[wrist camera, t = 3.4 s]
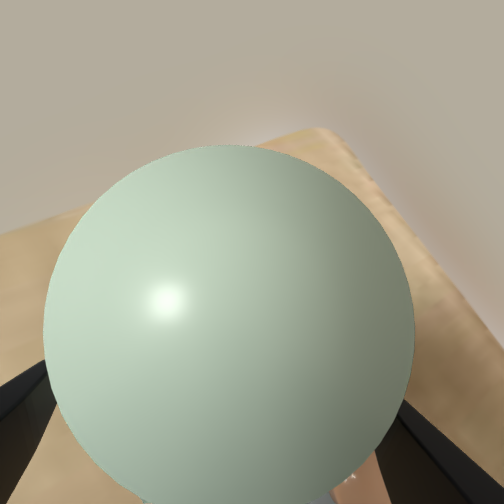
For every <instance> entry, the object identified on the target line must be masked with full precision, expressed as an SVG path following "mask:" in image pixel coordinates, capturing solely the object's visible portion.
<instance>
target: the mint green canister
mask: <svg viewBox="0 0 504 504" xmlns="http://www.w3.org/2000/svg"><path fill="white" fill-rule="evenodd" d="M43 339H44V352H45V362H46V367H47V371H48V375H49V380H50V384H51V388H52V391H53V394H54V396H55V399H56V401H57V404H58V406H59V409H60V411H61V414H62V416H63V418H64V419H65V421H66V423H67V425H68V426H69V428H70V430H71V431H72V433H73V435H74V436H75V438H76V440H77V441H78V443H79V444H80V445H81V446H82V447H83V449H84V450H85V451H86V452H87V454H88V455H89V456H90V457H91V458H92V460H93V461H94V462H95V463H96V464H97V465H98V466H99V467H100V468H101V469H102V470H103V471H105V472H106V473H107V474H108V475H109V476H110V477H111V478H113V479H114V480H115V481H116V482H117V483H118V484H119V485H121V486H123V487H124V488H126V489H128V490H129V491H131V492H132V493H134V494H136V495H137V496H139V497H140V499H141V500H142V501H143V503H144V504H145V503H152V504H307V503H309V502H311V501H313V500H315V499H318V498H319V497H321V496H322V495H324V494H325V493H327V492H329V491H330V490H332V489H333V488H335V487H336V486H338V485H339V484H341V483H342V482H343V481H344V480H346V479H347V478H348V477H349V476H350V475H351V474H352V473H353V472H355V471H356V470H357V469H358V468H359V467H360V466H361V465H362V464H363V463H364V462H365V461H366V460H367V458H368V457H369V456H370V455H371V454H372V452H373V451H374V450H375V449H376V448H377V446H378V445H379V444H380V442H381V441H382V439H383V438H384V436H385V434H386V433H387V431H388V429H389V428H390V426H391V425H392V423H393V421H394V419H395V417H396V415H397V412H398V410H399V408H400V405H401V403H402V401H403V399H404V396H405V392H406V389H407V385H408V382H409V378H410V375H411V369H412V362H413V356H414V344H415V322H414V312H413V303H412V298H411V294H410V289H409V284H408V281H407V278H406V275H405V272H404V269H403V266H402V263H401V261H400V259H399V257H398V254H397V252H396V250H395V248H394V246H393V244H392V242H391V240H390V239H389V237H388V236H387V234H386V232H385V231H384V229H383V227H382V226H381V224H380V223H379V222H378V221H377V219H376V218H375V217H374V215H373V214H372V213H371V212H370V210H369V209H368V208H367V207H366V206H365V205H364V204H363V203H362V202H361V201H360V200H359V199H358V198H357V197H356V196H355V195H354V194H353V193H352V192H351V191H350V190H348V189H347V188H346V187H345V186H344V185H342V184H341V183H340V182H339V181H337V180H336V179H334V178H333V177H331V176H330V175H328V174H327V173H325V172H324V171H322V170H320V169H318V168H316V167H314V166H313V165H311V164H309V163H307V162H305V161H302V160H300V159H297V158H295V157H292V156H290V155H287V154H283V153H280V152H276V151H273V150H269V149H263V148H257V147H252V146H239V145H218V146H207V147H200V148H193V149H189V150H185V151H181V152H177V153H173V154H170V155H168V156H165V157H162V158H160V159H157V160H155V161H152V162H150V163H148V164H146V165H145V166H143V167H141V168H139V169H137V170H136V171H133V172H132V173H130V174H129V175H128V176H126V177H125V178H123V179H122V180H120V181H119V182H117V183H116V184H115V185H114V186H112V187H111V188H110V189H109V190H108V191H107V192H105V193H104V194H103V195H102V196H101V197H100V198H99V199H98V200H97V201H96V202H95V203H94V204H93V205H92V206H91V208H90V209H89V210H88V211H87V212H86V213H85V214H84V215H83V217H82V218H81V220H80V221H79V223H78V224H77V226H76V227H75V228H74V230H73V231H72V233H71V234H70V236H69V238H68V240H67V242H66V244H65V246H64V248H63V250H62V251H61V253H60V255H59V257H58V260H57V263H56V266H55V269H54V271H53V274H52V277H51V280H50V284H49V289H48V294H47V298H46V303H45V311H44V327H43Z"/></svg>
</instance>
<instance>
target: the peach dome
mask: <svg viewBox="0 0 504 504" xmlns="http://www.w3.org/2000/svg"><path fill="white" fill-rule="evenodd" d="M329 494H330V496H331V498H332V500H333V501H334V503H335V504H391V501H390V499H389V496H388V493H387V490H386V487H385V484H384V481H383V478H382V475H381V472H380V469H379V466H378V462H377V458H376V455H375V450H374V451H373V452H372V454H371V455H370V456H369V457H368V458H367V460H366V461H365V462H364V463H363V464H362V465H361V466H360V467H359V468H358V469H357V470H356V471H355V472H353V473H352V474H351V475H350V476H349V477H348V478H347V479H346V480H344V481H343V482H342V483H341V484H339V485H338V486H336V487H335V488H333V489H332V490H330V491H329Z"/></svg>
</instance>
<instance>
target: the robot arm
mask: <svg viewBox="0 0 504 504" xmlns="http://www.w3.org/2000/svg"><path fill="white" fill-rule="evenodd" d="M56 404H57V401H56V399H55V396H54V394H53V391H52V388H51V384H50V380H49V375H48V371H47V367H46V362H45V360H42V361H40V362H39V363H37V364H35V365H34V366H32V367H31V368H29V369H27V370H26V371H24V372H23V373H21V374H19V375H18V376H16V377H15V378H13V379H12V380H10V381H8V382H7V383H5V384H4V385H2V386H0V504H6V503H7V501H8V500H9V498H10V496H11V494H12V492H13V491H14V489H15V487H16V485H17V484H18V482H19V480H20V478H21V476H22V475H23V473H24V471H25V469H26V468H27V466H28V464H29V462H30V460H31V459H32V457H33V455H34V453H35V451H36V449H37V447H38V445H39V443H40V441H41V438H42V436H43V434H44V432H45V429H46V427H47V425H48V423H49V420H50V418H51V416H52V414H53V411H54V409H55V407H56ZM375 455H376V458H377V462H378V466H379V469H380V472H381V475H382V478H383V481H384V484H385V487H386V490H387V493H388V496H389V499H390V501H391V504H504V488H503V487H502V486H501V485H500V484H499V483H497V482H496V481H495V480H494V479H493V478H492V477H491V476H490V475H489V474H487V473H486V472H485V471H484V470H483V469H482V468H481V467H480V466H478V465H477V464H476V463H475V462H474V461H473V460H472V459H471V458H469V457H468V456H467V455H466V454H465V453H464V452H463V451H462V450H460V449H459V448H458V447H457V446H456V445H455V444H454V443H453V442H451V441H450V440H449V439H448V438H447V437H446V436H445V435H444V434H442V433H441V432H440V431H439V430H438V429H437V428H436V427H435V426H433V425H432V424H431V423H430V422H429V421H428V420H427V419H426V418H425V417H423V416H422V415H421V414H420V413H419V412H418V411H417V410H416V409H414V408H413V407H412V406H411V405H410V404H409V403H408V402H407V401H405V400H404V399H403V401H402V403H401V405H400V408H399V410H398V412H397V415H396V417H395V419H394V421H393V423H392V425H391V426H390V428H389V429H388V431H387V433H386V434H385V436H384V438H383V439H382V441H381V442H380V444H379V445H378V446H377V448H376V449H375Z"/></svg>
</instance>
